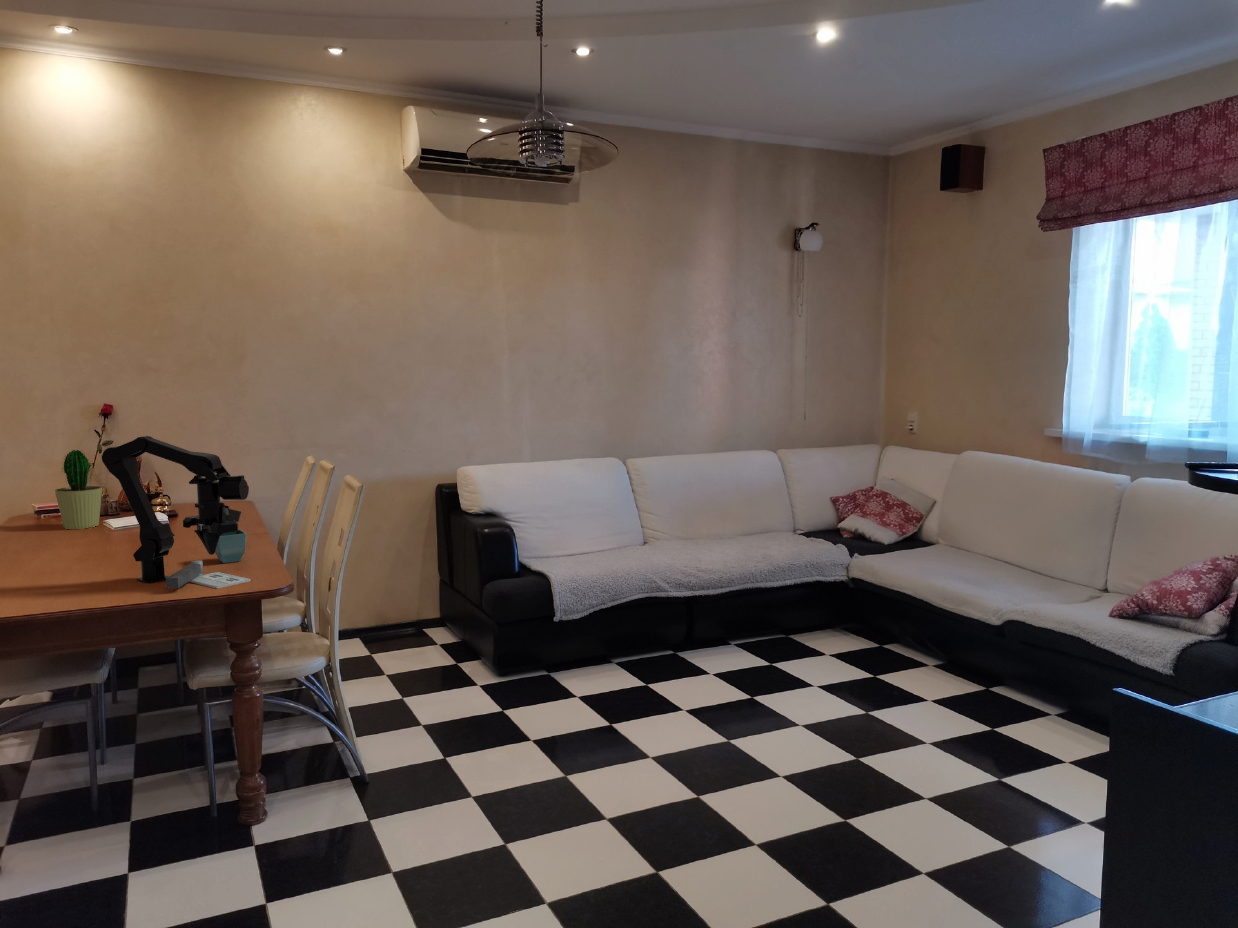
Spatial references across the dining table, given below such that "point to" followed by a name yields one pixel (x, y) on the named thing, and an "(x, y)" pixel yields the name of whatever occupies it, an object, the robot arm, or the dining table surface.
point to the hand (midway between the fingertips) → (211, 554)
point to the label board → (218, 580)
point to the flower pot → (231, 546)
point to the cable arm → (184, 574)
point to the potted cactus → (78, 494)
